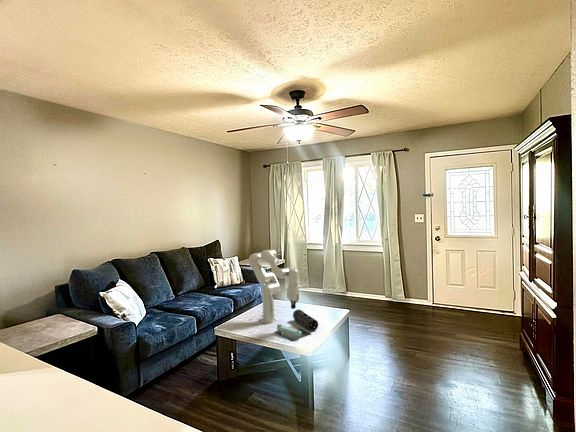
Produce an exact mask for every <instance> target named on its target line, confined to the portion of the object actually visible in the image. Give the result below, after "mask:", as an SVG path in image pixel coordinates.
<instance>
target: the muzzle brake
mask: <svg viewBox="0 0 576 432" xmlns="http://www.w3.org/2000/svg"><path fill="white" fill-rule="evenodd" d="M292 317H293V320H295V321H296V322H297V323H299V324H301V326H303V327H305V328H306V329H307V330H309V331H310V332H316V330H317V329H318V327H319V321H318V320H316V318H313V317H312V316H310V315H309V314H307V313H306V312H305V311H304V310H302V309H296V310H294V311H293V313H292Z"/></svg>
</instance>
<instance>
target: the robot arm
mask: <svg viewBox="0 0 576 432" xmlns="http://www.w3.org/2000/svg"><path fill="white" fill-rule="evenodd" d="M279 262H280V261H279V259H278V254H277V251H276V250H274V249H265V250H263V251H261V252H254V253H251V254H250V255H249V257H248V263H249V266H250V268H251V269H252V271H253V273H254V275H255V277H256V279H257V281H258V283H259V284H260V285H263V286H261V291H260V292H261V297H262V298H261V299H262V314H261V315H260V316H261V320H260V323H262V324H265V325H267V324H268V325H269V324H274V323H276V322H277V318H275V300H274V297H273V295H275V294H279V293H280V292H281V285H280V283H279V281H278V279H285V278H287V279H288V280H287V281H288V286H287V289H286V298H287V300H289V302H290V304H291V305H290V309H292V310H294V309H296V308H297V307H296V304H297V303H299V300H300V289H299V270H298V269H296V268H292V267H283V268H280V267H278V265H279ZM260 263H266V264H267V265H269V266H270V270H271V271H266V270H265V269H264V267H263V266H262V265H261V264H260ZM277 278H278V279H277Z"/></svg>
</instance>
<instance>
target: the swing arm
mask: <svg viewBox="0 0 576 432" xmlns="http://www.w3.org/2000/svg"><path fill="white" fill-rule="evenodd" d="M276 326H277V327H276V331H277V332H278V333H281V332H282V331H283V332H286V333H290V334H293V335H296V336H301V331H299V330H295V329H292V328H288V327H289V326H284V325H282V324H280V323H279V324H277V325H276Z"/></svg>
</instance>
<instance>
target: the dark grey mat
mask: <svg viewBox="0 0 576 432" xmlns="http://www.w3.org/2000/svg"><path fill="white" fill-rule="evenodd" d="M287 327H288V328H292V329H295V330H299V331H301V336H296V335H293V334H290V333H286V332H283V331H282V332H281V333H278V332H277V330H275V331H273V333H274V334H276V335H278V336H281V337H282V338H284V339H286V340H288V341H290V342H294V341H297V340H300V339H303V338H306V337H307V336H311V335H312V333H311V332H308V331H306V330H304V329H302V328H300V327H297V326H296V325H291V326H287Z"/></svg>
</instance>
